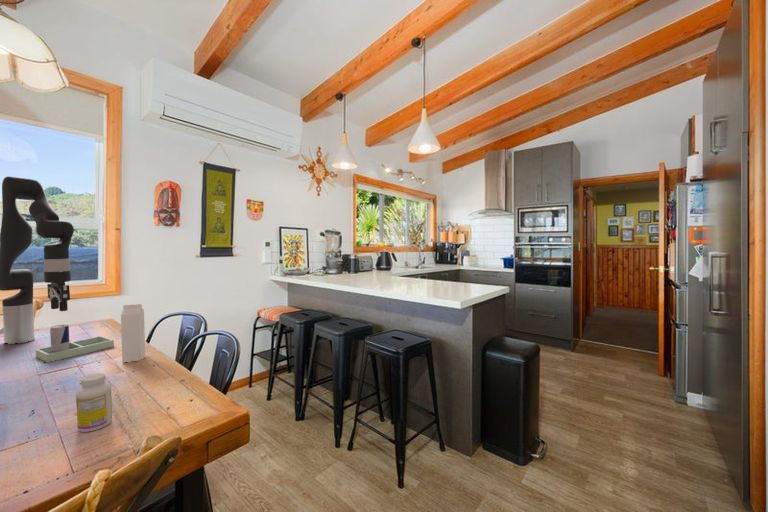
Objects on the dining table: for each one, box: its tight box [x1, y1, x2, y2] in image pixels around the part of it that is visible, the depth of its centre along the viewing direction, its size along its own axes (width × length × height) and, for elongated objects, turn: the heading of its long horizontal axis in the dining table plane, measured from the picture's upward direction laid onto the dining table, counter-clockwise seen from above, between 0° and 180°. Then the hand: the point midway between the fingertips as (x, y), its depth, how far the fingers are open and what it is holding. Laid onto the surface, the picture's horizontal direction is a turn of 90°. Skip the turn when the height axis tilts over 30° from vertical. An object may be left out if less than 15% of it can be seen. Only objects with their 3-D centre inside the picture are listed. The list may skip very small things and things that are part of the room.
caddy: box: [35, 335, 115, 363], centre depth 135 cm, size 12×21×3 cm, turn 152°
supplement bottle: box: [75, 372, 113, 433], centre depth 82 cm, size 7×7×13 cm
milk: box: [120, 303, 146, 364], centre depth 127 cm, size 6×6×22 cm
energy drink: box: [49, 324, 70, 353], centre depth 131 cm, size 5×5×12 cm
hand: (59, 309), depth 130 cm, fingers open, 8 cm apart
